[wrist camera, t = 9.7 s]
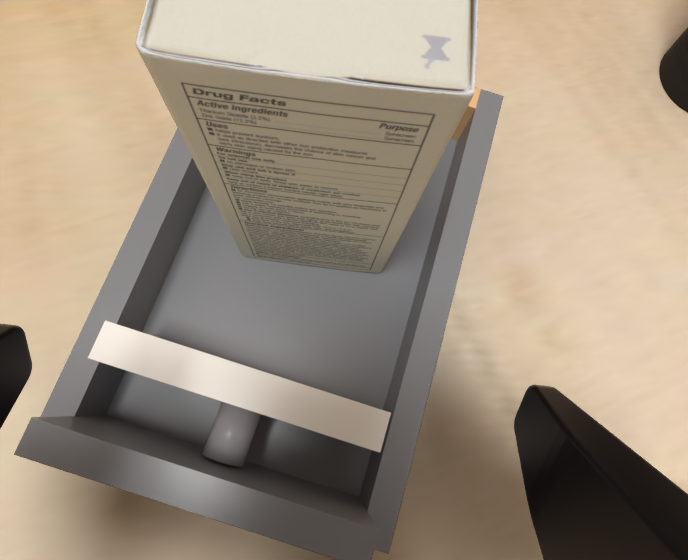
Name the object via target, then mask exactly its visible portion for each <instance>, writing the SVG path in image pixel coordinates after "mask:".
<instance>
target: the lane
mask: <svg viewBox="0 0 688 560" xmlns="http://www.w3.org/2000/svg"><path fill="white" fill-rule="evenodd" d="M502 100H503V96H501V95H498V94H495V93H491V92H488V91H485V90H482V89H479V88H476V87H475V88H474V95H473V97H472V99H471V101H470V103H469V105H468V107H467V109H466V111H465V113H464V114H463V116H462V118H461V120H460V122H459V124H458V126H457V128H456V130H455V132H454V134H453V135H452V137H451V139H450V141H449V143H448V145H447V147H446V148H445V151H444V153H443V155H442V156H441V158H440V160H439V162H438V164H437V166H436V168H435V170H434V172H433V174H432V176H431V178H430V180H429V182H428V184H427V186H426V188H425V190H424V192H423V193H422V196H421V198H420V199H419V201H418V203H417V205H416V207H415V209H414V211H413V213H412V215H411V217H410V219H409V221H408V223H407V225H406V227H405V229H404V230H403V232H402V234H401V236H400V238H399V240H398V242H397V244H396V246H395V248H394V250H393V252H392V254H391V256H390V258H389V260H388V262H387V264H386V266H385V267H384V269H383V271H382V272H381V273H372V272H361V271H350V270H342V269H333V268H325V267H317V266H308V265H301V264H293V263H286V262H278V261H271V260H265V259H257V258H251V257H245V256H243V255H242V254H241V253H240V251H239V249H238V247H237V245H236V243H235V241H234V239H233V237H232V235H231V233H230V231H229V229H228V227H227V225H226V223H225V221H224V219H223V217H222V215H221V213H220V211H219V209H218V207H217V205H216V203H215V201H214V199H213V197H212V195H211V193H210V191H209V189H208V187H207V185H206V183H205V181H204V179H203V177H202V175H201V173H200V171H199V169H198V168H197V166H196V164H195V161H194V159H193V157H192V155H191V153H190V151H189V149H188V147H187V145H186V143H185V141H184V139H183V137H182V135H181V133H180V131H179V129H178V128H177V131H176V133H175V135H174V137H173V139H172V141H171V143H170V145H169V147H168V150H167V152H166V154H165V156H164V158H163V160H162V162H161V164H160V166H159V168H158V171H157V173H156V175H155V177H154V179H153V181H152V183H151V185H150V187H149V190H148V192H147V194H146V196H145V198H144V200H143V202H142V204H141V206H140V209H139V211H138V213H137V215H136V217H135V219H134V221H133V223H132V225H131V227H130V230H129V232H128V234H127V236H126V238H125V240H124V242H123V244H122V246H121V249H120V251H119V253H118V255H117V257H116V259H115V261H114V263H113V265H112V267H111V270H110V272H109V274H108V276H107V278H106V280H105V282H104V284H103V286H102V289H101V291H100V293H99V295H98V297H97V299H96V301H95V303H94V305H93V307H92V310H91V312H90V314H89V316H88V318H87V320H86V322H85V324H84V326H83V329H82V331H81V333H80V335H79V337H78V339H77V341H76V343H75V345H74V347H73V350H72V352H71V354H70V356H69V358H68V360H67V362H66V364H65V366H64V369H63V371H62V373H61V375H60V377H59V379H58V381H57V383H56V385H55V387H54V390H53V392H52V394H51V396H50V398H49V400H48V402H47V404H46V406H45V409H44V411H43V413H42V415H41V417H32V418H31V420H30V422H29V424H28V426H27V428H26V430H25V432H24V435H23V437H22V439H21V441H20V443H19V445H18V447H17V449H16V451H15V453H14V455H17V456H20V457H23V458H27V459H30V460H33V461H36V462H39V463H42V464H45V465H48V466H51V467H54V468H57V469H60V470H63V471H66V472H70V473H73V474H76V475H79V476H82V477H85V478H88V479H91V480H94V481H97V482H100V483H103V484H106V485H109V486H113V487H116V488H119V489H122V490H125V491H128V492H131V493H134V494H137V495H140V496H143V497H146V498H149V499H153V500H156V501H159V502H162V503H165V504H168V505H171V506H174V507H177V508H180V509H183V510H186V511H189V512H192V513H196V514H199V515H202V516H205V517H208V518H211V519H214V520H217V521H220V522H223V523H226V524H229V525H232V526H236V527H239V528H242V529H245V530H248V531H251V532H254V533H257V534H260V535H263V536H266V537H269V538H272V539H275V540H279V541H282V542H285V543H288V544H291V545H294V546H297V547H300V548H303V549H306V550H309V551H312V552H315V553H318V554H322V555H325V556H328V557H331V558H334V559H337V560H371V559H372V555H373V551H374V549H375V550H378V551H381V552H384V553H387V554H389V550H390V546H391V542H392V538H393V534H394V530H395V526H396V522H397V518H398V514H399V510H400V506H401V502H402V498H403V494H404V490H405V486H406V482H407V478H408V474H409V470H410V466H411V462H412V458H413V455H414V451H415V447H416V443H417V439H418V435H419V431H420V427H421V423H422V419H423V415H424V411H425V407H426V403H427V399H428V395H429V391H430V387H431V383H432V379H433V375H434V371H435V367H436V363H437V359H438V355H439V351H440V347H441V343H442V339H443V335H444V331H445V327H446V323H447V319H448V315H449V311H450V307H451V303H452V299H453V295H454V291H455V287H456V283H457V279H458V275H459V272H460V268H461V264H462V260H463V256H464V252H465V248H466V244H467V240H468V236H469V232H470V228H471V224H472V220H473V216H474V212H475V208H476V204H477V200H478V196H479V192H480V188H481V184H482V180H483V176H484V172H485V168H486V164H487V160H488V156H489V152H490V148H491V144H492V140H493V136H494V132H495V128H496V124H497V120H498V116H499V112H500V108H501V104H502ZM105 321H108V322H112V323H115V324H118V325H121V326H124V327H127V328H130V329H133V330H136V331H139V332H142V333H146V334H149V335H152V336H155V337H158V338H161V339H164V340H167V341H170V342H173V343H177V344H180V345H183V346H186V347H189V348H192V349H195V350H198V351H201V352H204V353H207V354H211V355H214V356H217V357H220V358H223V359H226V360H229V361H232V362H235V363H238V364H242V365H245V366H248V367H251V368H254V369H257V370H260V371H263V372H266V373H269V374H272V375H276V376H279V377H282V378H285V379H288V380H291V381H294V382H297V383H300V384H303V385H307V386H310V387H313V388H316V389H319V390H322V391H325V392H328V393H331V394H334V395H337V396H341V397H344V398H347V399H350V400H353V401H356V402H359V403H362V404H365V405H368V406H372V407H375V408H378V409H381V410H384V411H387V412H390V413H391V415H390V418H389V422H388V426H387V430H386V433H385V437H384V441H383V444H382V448H381V452H377V451H373V450H370V449H367V448H364V447H361V446H358V445H355V444H352V443H349V442H346V441H343V440H339V439H336V438H333V437H330V436H327V435H324V434H321V433H318V432H315V431H312V430H309V429H305V428H302V427H299V426H296V425H293V424H290V423H287V422H284V421H281V420H278V419H275V418H271V417H268V416H265V415H262V414H261V416H260V419H259V422H258V425H257V428H256V431H255V434H254V436H253V439H252V442H251V445H250V448H249V451H248V454H247V457H246V459H245V462H244V465H243V467H237V466H232V465H227V464H224V463H220V462H217V461H215V460H212V459H209V458H207V457H205V456H204V455H202V453H203V450H204V447H205V445H206V442H207V439H208V437H209V434H210V431H211V429H212V426H213V423H214V421H215V418H216V415H217V413H218V410H219V407H220V404H221V402H222V401H219V400H216V399H213V398H210V397H207V396H203V395H200V394H197V393H194V392H191V391H188V390H185V389H182V388H179V387H176V386H173V385H170V384H166V383H163V382H160V381H157V380H154V379H151V378H148V377H145V376H142V375H139V374H136V373H132V372H129V371H126V370H123V369H120V368H117V367H114V366H111V365H108V364H105V363H102V362H98V361H95V360H92V359H89V358H88V356H89V354H90V352H91V350H92V348H93V345H94V343H95V341H96V339H97V337H98V335H99V333H100V330H101V328H102V326H103V324H104V322H105Z"/></svg>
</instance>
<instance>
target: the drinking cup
mask: <svg viewBox="0 0 688 560" xmlns="http://www.w3.org/2000/svg"><path fill="white" fill-rule="evenodd" d="M660 76H661V80H662V83H663V86H664V88H665V90H666V92H667V93H668V95H669V96H670V97H671V98H672V100H673V101H674V102H675V103H677V104H678V105H679V106H680V107H681V108H683V109H684V110H686V111H688V28H687V29H686V30H685V31H684V33H683V34H682V35H681V36H680V37H679V38H678V40H677V41H676V42H675V43H674V44H673V46H672V47H671V48H670V49H669V50H668V51H667V53H666V54H665V55H664V57H663V59H662V62H661V66H660Z"/></svg>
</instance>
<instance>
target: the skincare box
mask: <svg viewBox="0 0 688 560" xmlns="http://www.w3.org/2000/svg"><path fill="white" fill-rule="evenodd" d="M477 29H478V0H147V3H146V7H145V11H144V14H143V17H142V21H141V24H140V28H139V32H138V36H137V40H136V46H137V49H138V51H139V53H140V55H141V57H142V59H143V61H144V63H145V65H146V67H147V68H148V70H149V72H150V74H151V76H152V78H153V80H154V82H155V84H156V86H157V88H158V90H159V92H160V94H161V96H162V98H163V100H164V102H165V104H166V106H167V108H168V110H169V111H170V113H171V115H172V117H173V119H174V121H175V123H176V125H177V127H178V129H179V131H180V133H181V135H182V137H183V139H184V141H185V143H186V145H187V147H188V149H189V151H190V153H191V155H192V157H193V159H194V161H195V164H196V166H197V168H198V169H199V171H200V173H201V175H202V177H203V179H204V181H205V183H206V185H207V187H208V189H209V191H210V193H211V195H212V197H213V199H214V201H215V203H216V205H217V207H218V209H219V211H220V213H221V215H222V217H223V219H224V221H225V223H226V225H227V227H228V229H229V231H230V233H231V235H232V237H233V239H234V241H235V243H236V245H237V247H238V249H239V251H240V253H241V254H242V255H243V256H245V257H251V258H257V259H265V260H271V261H278V262H286V263H293V264H301V265H308V266H317V267H325V268H333V269H342V270H350V271H361V272H372V273H381V272H382V271H383V269H384V267H385V266H386V264H387V262H388V260H389V258H390V256H391V254H392V252H393V250H394V248H395V246H396V244H397V242H398V240H399V238H400V236H401V234H402V232H403V230H404V229H405V227H406V225H407V223H408V221H409V219H410V217H411V215H412V213H413V211H414V209H415V207H416V205H417V203H418V201H419V199H420V198H421V196H422V193H423V192H424V190H425V188H426V186H427V184H428V182H429V180H430V178H431V176H432V174H433V172H434V170H435V168H436V166H437V164H438V162H439V160H440V158H441V156H442V155H443V153H444V151H445V148H446V147H447V145H448V143H449V141H450V139H451V137H452V135H453V134H454V132H455V130H456V128H457V126H458V124H459V122H460V120H461V118H462V116H463V114H464V113H465V111H466V109H467V107H468V105H469V103H470V101H471V99H472V97H473V95H474V88H475V69H476V50H477Z"/></svg>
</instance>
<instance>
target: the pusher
mask: <svg viewBox="0 0 688 560" xmlns="http://www.w3.org/2000/svg"><path fill="white" fill-rule="evenodd" d="M88 358H89V359H92V360H95V361H98V362H102V363H105V364H108V365H111V366H114V367H117V368H120V369H123V370H126V371H129V372H132V373H136V374H139V375H142V376H145V377H148V378H151V379H154V380H157V381H160V382H163V383H166V384H170V385H173V386H176V387H179V388H182V389H185V390H188V391H191V392H194V393H197V394H200V395H203V396H207V397H210V398H213V399H216V400H219V401H222V402H221V404H220V407H219V410H218V413H217V415H216V418H215V421H214V423H213V426H212V429H211V431H210V434H209V437H208V439H207V442H206V445H205V447H204V450H203V453H202V455H204V456H205V457H207V458H209V459H212V460H215V461H217V462H220V463H224V464H227V465H232V466H237V467H243V465H244V462H245V459H246V457H247V454H248V451H249V448H250V445H251V442H252V439H253V436H254V434H255V431H256V428H257V425H258V422H259V419H260V416H261V414H262V415H265V416H268V417H271V418H275V419H278V420H281V421H284V422H287V423H290V424H293V425H296V426H299V427H302V428H305V429H309V430H312V431H315V432H318V433H321V434H324V435H327V436H330V437H333V438H336V439H339V440H343V441H346V442H349V443H352V444H355V445H358V446H361V447H364V448H367V449H370V450H373V451H377V452H381V448H382V444H383V441H384V437H385V433H386V430H387V426H388V422H389V418H390V415H391V413H390V412H387V411H384V410H381V409H378V408H375V407H372V406H368V405H365V404H362V403H359V402H356V401H353V400H350V399H347V398H344V397H341V396H337V395H334V394H331V393H328V392H325V391H322V390H319V389H316V388H313V387H310V386H307V385H303V384H300V383H297V382H294V381H291V380H288V379H285V378H282V377H279V376H276V375H272V374H269V373H266V372H263V371H260V370H257V369H254V368H251V367H248V366H245V365H242V364H238V363H235V362H232V361H229V360H226V359H223V358H220V357H217V356H214V355H211V354H207V353H204V352H201V351H198V350H195V349H192V348H189V347H186V346H183V345H180V344H177V343H173V342H170V341H167V340H164V339H161V338H158V337H155V336H152V335H149V334H146V333H142V332H139V331H136V330H133V329H130V328H127V327H124V326H121V325H118V324H115V323H112V322H108V321H105V322H104V324H103V326H102V328H101V330H100V333H99V335H98V337H97V339H96V341H95V343H94V345H93V348H92V350H91V352H90V354H89V356H88Z"/></svg>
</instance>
